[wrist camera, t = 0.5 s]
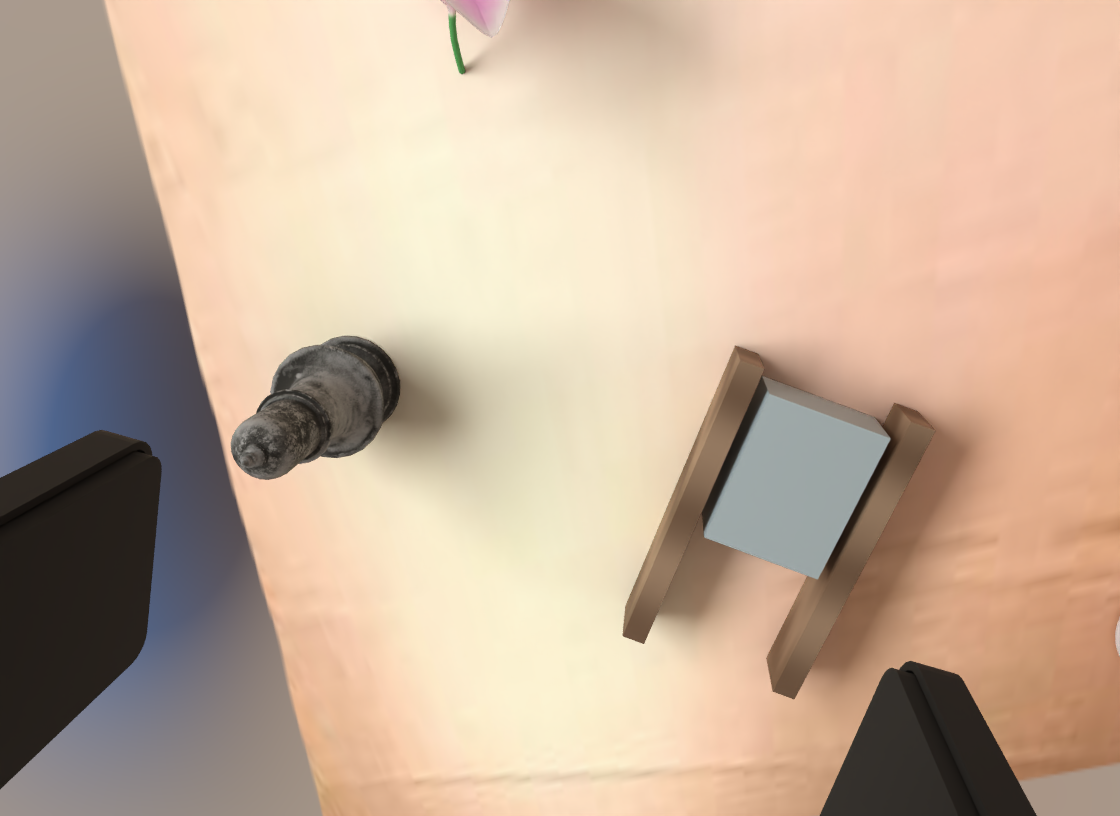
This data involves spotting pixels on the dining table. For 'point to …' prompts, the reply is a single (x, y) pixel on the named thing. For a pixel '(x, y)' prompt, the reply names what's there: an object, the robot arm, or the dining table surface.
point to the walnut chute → (816, 597)
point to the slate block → (792, 477)
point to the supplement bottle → (1118, 636)
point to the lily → (475, 19)
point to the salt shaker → (318, 407)
